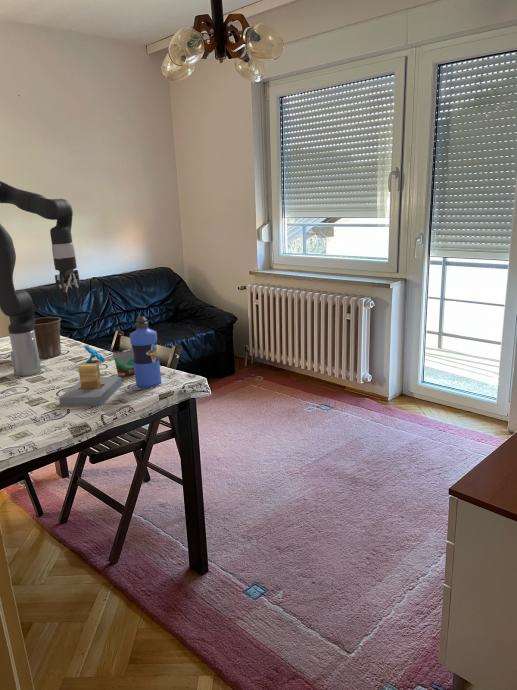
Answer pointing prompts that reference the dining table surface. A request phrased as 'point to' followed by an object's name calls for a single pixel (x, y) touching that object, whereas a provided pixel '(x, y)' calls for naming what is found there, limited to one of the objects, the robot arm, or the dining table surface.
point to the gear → (93, 354)
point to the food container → (124, 363)
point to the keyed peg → (90, 376)
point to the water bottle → (145, 355)
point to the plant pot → (48, 336)
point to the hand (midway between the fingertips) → (70, 300)
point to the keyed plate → (90, 393)
